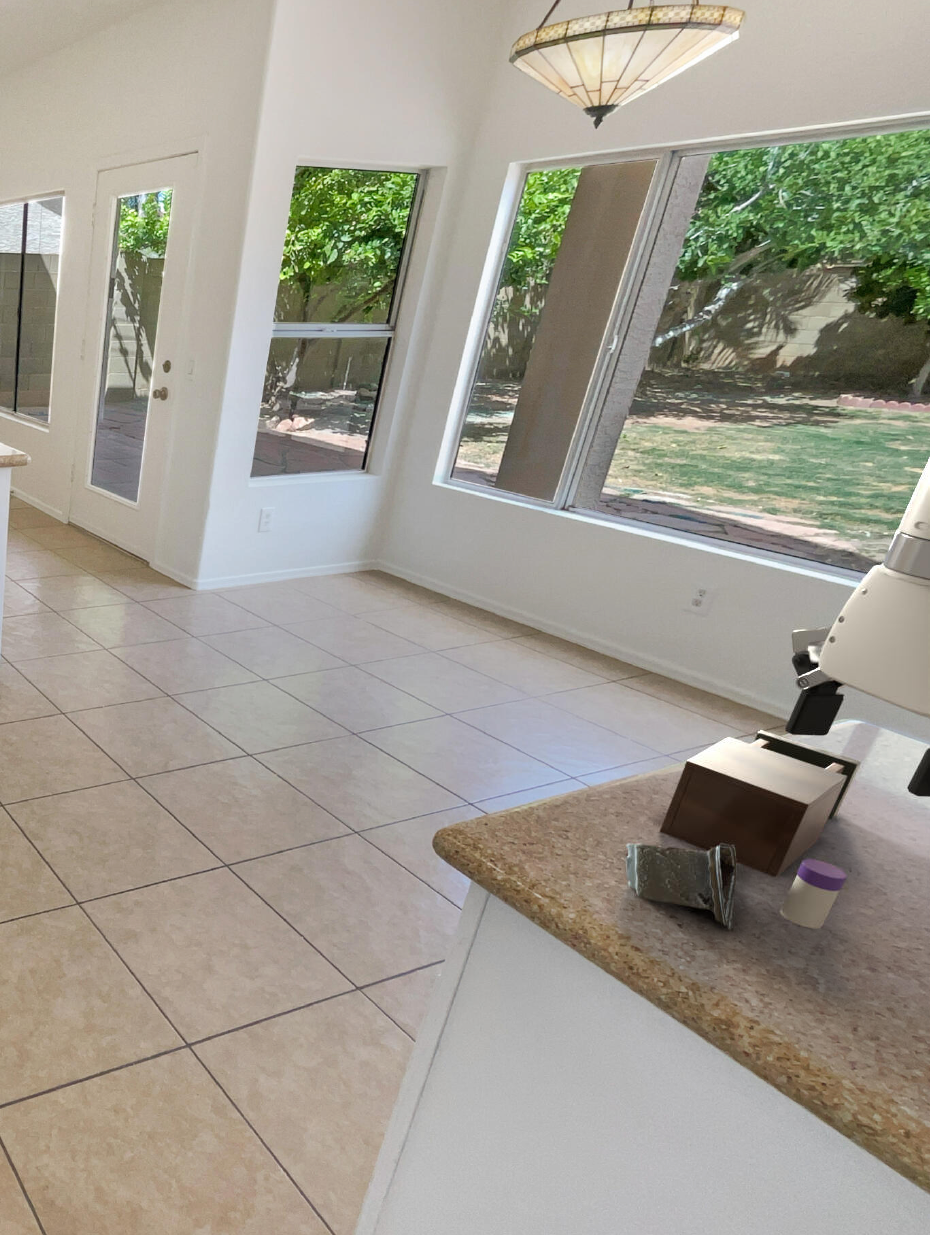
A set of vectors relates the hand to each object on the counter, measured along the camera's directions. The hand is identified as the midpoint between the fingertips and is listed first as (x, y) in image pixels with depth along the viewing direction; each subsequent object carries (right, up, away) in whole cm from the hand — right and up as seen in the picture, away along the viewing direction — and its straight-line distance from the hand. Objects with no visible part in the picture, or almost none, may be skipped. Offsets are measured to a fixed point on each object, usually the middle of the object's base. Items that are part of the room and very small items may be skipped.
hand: (863, 762), depth 69 cm
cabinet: (+5, -11, +16) cm, 20 cm away
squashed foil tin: (-8, -13, +9) cm, 18 cm away
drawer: (+14, -8, +20) cm, 26 cm away
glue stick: (0, -15, +5) cm, 16 cm away
